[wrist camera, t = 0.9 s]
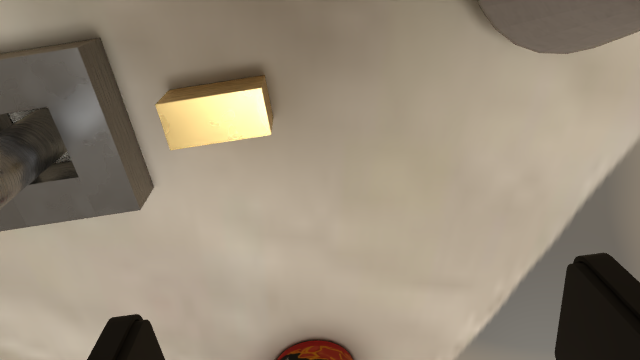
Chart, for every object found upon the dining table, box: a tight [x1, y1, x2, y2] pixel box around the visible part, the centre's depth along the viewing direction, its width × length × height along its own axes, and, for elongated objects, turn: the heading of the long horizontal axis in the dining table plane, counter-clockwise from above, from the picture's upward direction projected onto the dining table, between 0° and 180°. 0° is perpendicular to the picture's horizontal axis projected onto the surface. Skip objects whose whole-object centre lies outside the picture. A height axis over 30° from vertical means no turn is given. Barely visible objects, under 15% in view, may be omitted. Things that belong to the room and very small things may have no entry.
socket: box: [0, 38, 154, 231], centre depth 27 cm, size 10×10×3 cm
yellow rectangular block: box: [155, 75, 273, 150], centre depth 27 cm, size 3×6×3 cm, turn 98°
